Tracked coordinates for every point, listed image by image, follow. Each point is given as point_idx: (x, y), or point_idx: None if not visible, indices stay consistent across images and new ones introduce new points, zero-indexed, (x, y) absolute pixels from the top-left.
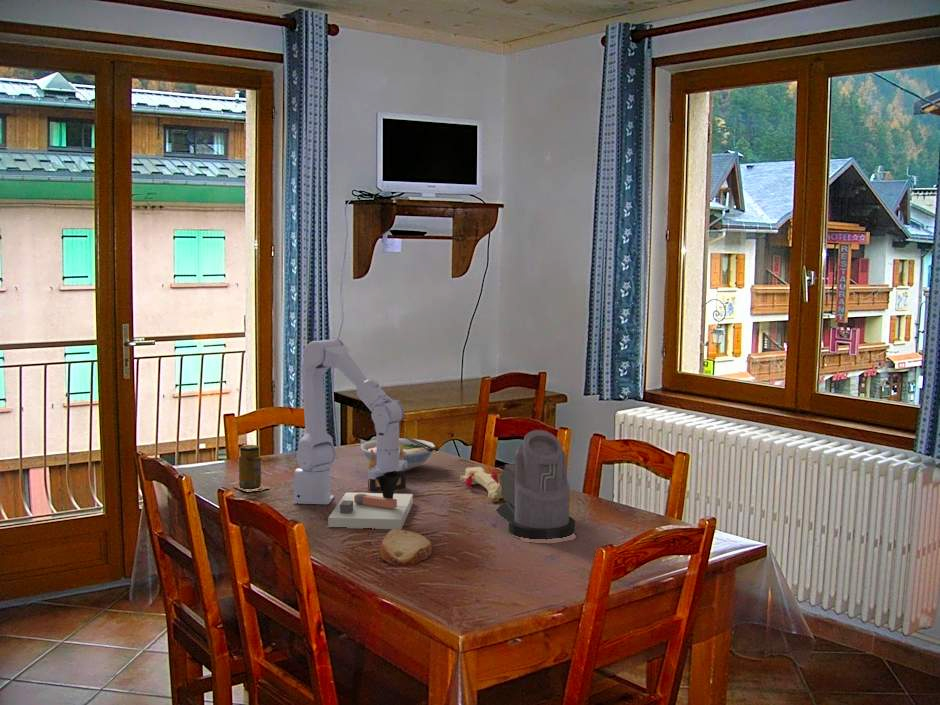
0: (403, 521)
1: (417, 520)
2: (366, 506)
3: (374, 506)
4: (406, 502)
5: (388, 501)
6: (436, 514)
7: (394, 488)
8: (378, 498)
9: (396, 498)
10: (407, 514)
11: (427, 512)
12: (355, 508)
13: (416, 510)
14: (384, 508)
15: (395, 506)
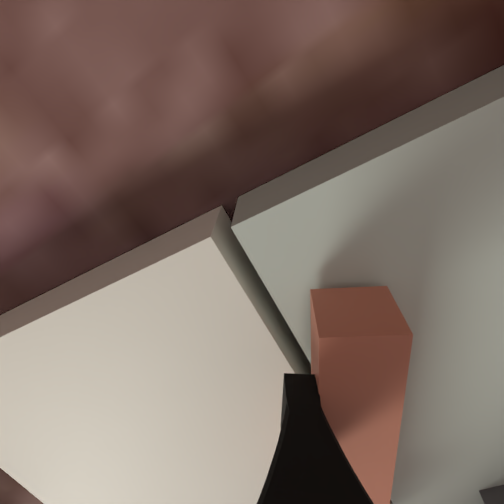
0: (472, 88)
1: (279, 51)
2: None
3: None
4: (109, 308)
5: (402, 371)
6: (9, 5)
7: (284, 486)
8: (376, 469)
9: (78, 414)
10: (201, 217)
11: (28, 124)
12: (455, 487)
13: (54, 230)
14: None
15: (340, 293)
